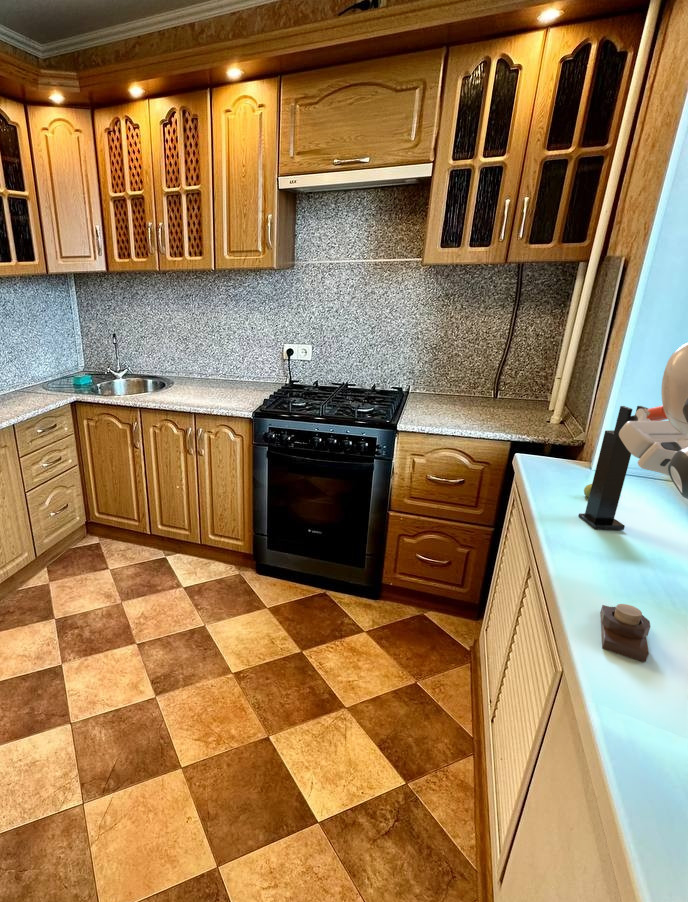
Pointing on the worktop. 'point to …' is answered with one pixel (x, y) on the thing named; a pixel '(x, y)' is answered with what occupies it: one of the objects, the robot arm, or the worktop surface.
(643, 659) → the control block
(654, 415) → the lever
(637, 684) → the worktop surface
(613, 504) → the post
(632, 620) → the button
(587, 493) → the lime
